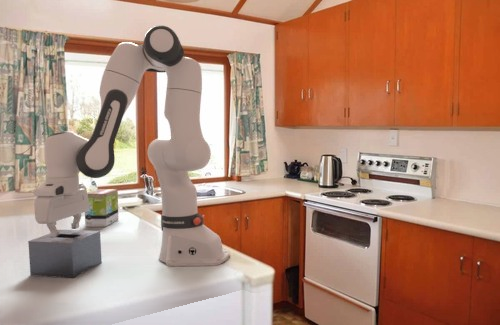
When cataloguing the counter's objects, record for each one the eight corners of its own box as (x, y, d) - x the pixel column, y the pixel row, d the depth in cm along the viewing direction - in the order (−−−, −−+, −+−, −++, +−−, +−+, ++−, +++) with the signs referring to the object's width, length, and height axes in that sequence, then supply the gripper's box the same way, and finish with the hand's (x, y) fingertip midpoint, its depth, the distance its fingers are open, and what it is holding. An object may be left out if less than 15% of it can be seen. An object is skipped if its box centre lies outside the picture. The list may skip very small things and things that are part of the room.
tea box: (107, 226, 180) (106, 193, 179) (84, 227, 180) (82, 193, 179) (119, 219, 195) (117, 188, 194) (98, 219, 195) (96, 188, 194)
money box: (101, 262, 130) (100, 231, 129) (73, 278, 117) (71, 243, 116) (62, 260, 133) (60, 229, 132) (30, 275, 120) (28, 241, 119)
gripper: (75, 181, 134) (77, 224, 135) (28, 191, 114) (32, 240, 115) (93, 181, 132) (95, 224, 133) (48, 191, 113) (51, 241, 114)
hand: (65, 232), depth 124 cm, fingers open, 8 cm apart
